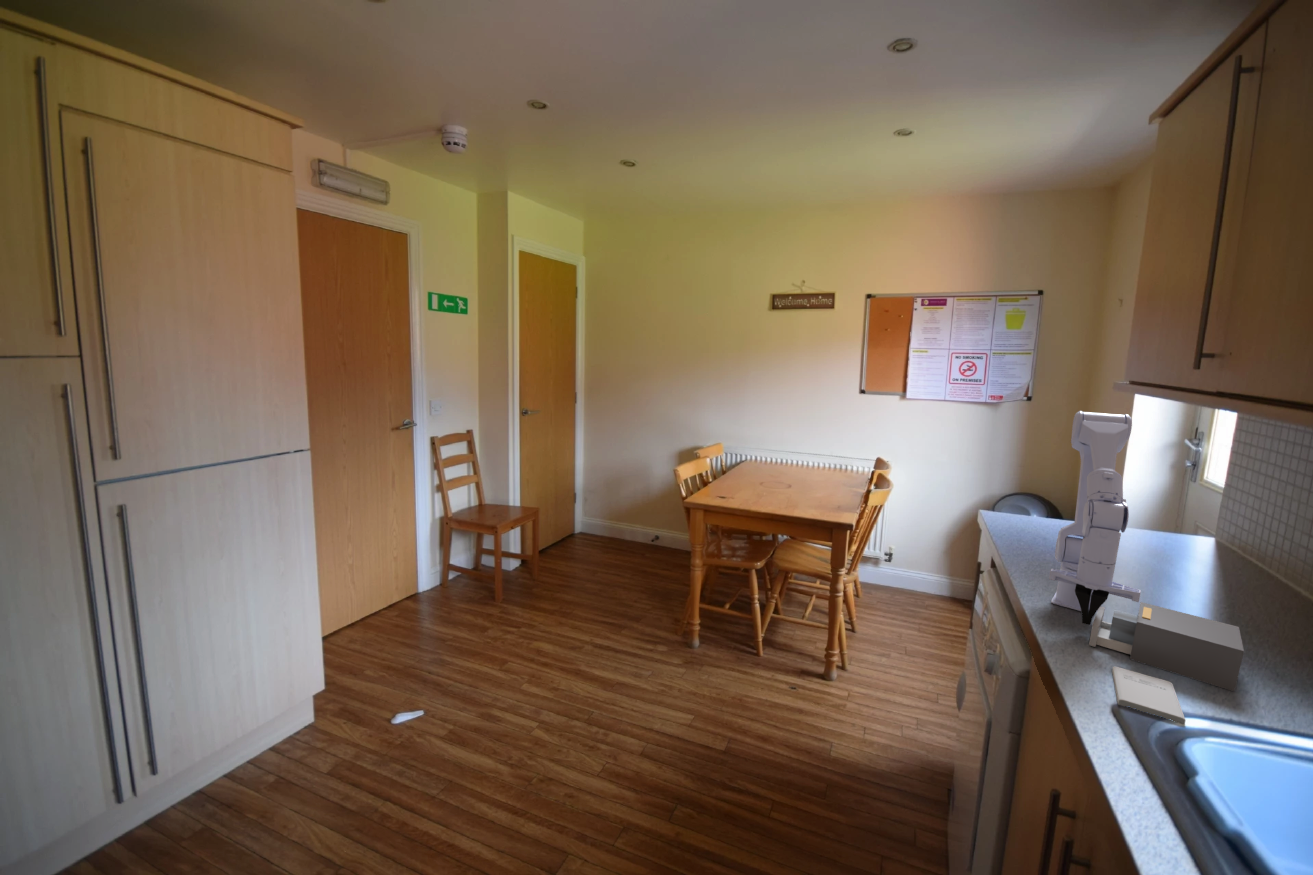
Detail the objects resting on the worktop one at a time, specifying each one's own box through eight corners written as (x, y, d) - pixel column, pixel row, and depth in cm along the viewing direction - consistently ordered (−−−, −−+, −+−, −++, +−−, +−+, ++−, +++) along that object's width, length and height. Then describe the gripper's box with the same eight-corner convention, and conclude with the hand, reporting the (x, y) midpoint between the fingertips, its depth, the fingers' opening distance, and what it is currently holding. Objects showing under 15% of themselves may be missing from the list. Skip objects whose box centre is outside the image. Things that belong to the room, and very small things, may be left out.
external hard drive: (1117, 707, 93) (1111, 672, 103) (1184, 728, 88) (1171, 690, 98) (1118, 698, 93) (1112, 664, 103) (1186, 718, 88) (1173, 681, 98)
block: (1110, 632, 115) (1114, 609, 114) (1138, 640, 112) (1143, 617, 111) (1108, 640, 112) (1112, 616, 111) (1137, 648, 109) (1142, 624, 108)
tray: (1095, 624, 120) (1099, 605, 119) (1183, 649, 111) (1187, 629, 110) (1088, 645, 111) (1092, 625, 110) (1183, 674, 102) (1188, 652, 101)
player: (1133, 636, 116) (1140, 600, 114) (1230, 664, 106) (1239, 625, 105) (1129, 659, 107) (1137, 620, 105) (1234, 691, 97) (1244, 649, 96)
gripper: (1050, 554, 115) (1040, 616, 118) (1143, 575, 106) (1130, 643, 108) (1056, 546, 121) (1046, 605, 123) (1145, 565, 111) (1133, 630, 113)
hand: (1086, 622), depth 116 cm, fingers closed
